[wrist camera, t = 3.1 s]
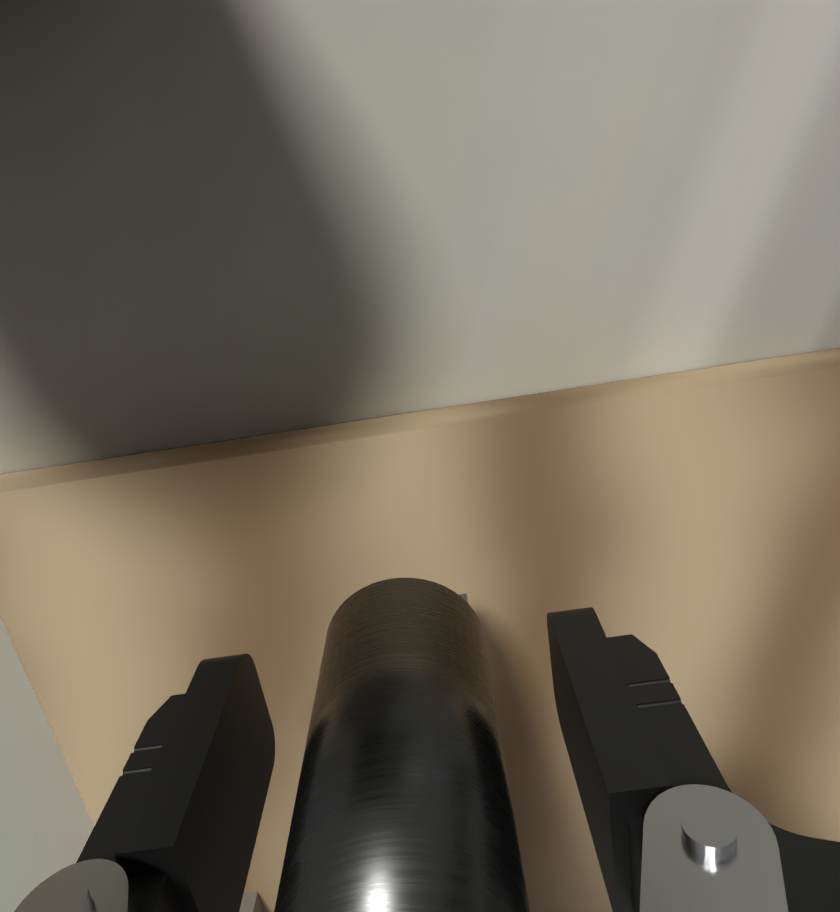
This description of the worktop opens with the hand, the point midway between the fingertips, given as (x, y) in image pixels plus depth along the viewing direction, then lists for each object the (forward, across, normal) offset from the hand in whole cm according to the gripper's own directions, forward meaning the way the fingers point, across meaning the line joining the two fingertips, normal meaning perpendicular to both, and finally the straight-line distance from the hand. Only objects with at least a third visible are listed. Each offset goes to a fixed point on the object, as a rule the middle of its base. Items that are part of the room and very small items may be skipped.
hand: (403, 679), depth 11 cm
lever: (+3, 0, +10) cm, 11 cm away
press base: (+5, -2, +7) cm, 9 cm away
